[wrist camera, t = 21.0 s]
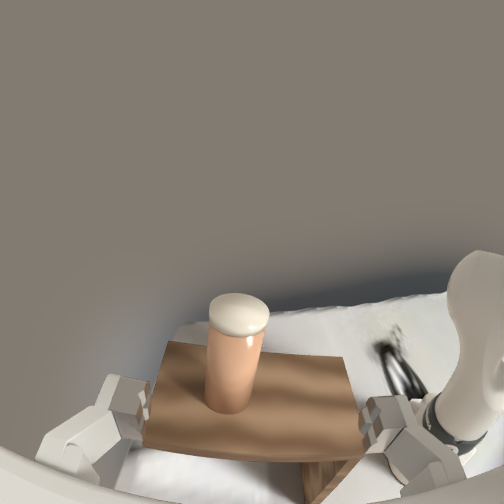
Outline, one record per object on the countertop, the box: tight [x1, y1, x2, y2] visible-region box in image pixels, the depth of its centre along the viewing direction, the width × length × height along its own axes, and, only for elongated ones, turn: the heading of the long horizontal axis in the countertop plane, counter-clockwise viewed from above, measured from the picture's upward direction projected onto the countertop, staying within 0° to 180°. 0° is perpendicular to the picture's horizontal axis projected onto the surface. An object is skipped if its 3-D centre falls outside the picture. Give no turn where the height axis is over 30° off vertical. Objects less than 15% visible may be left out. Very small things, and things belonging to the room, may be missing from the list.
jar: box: [204, 293, 269, 414], centre depth 30 cm, size 5×5×12 cm
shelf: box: [142, 341, 365, 504], centre depth 38 cm, size 15×23×20 cm, turn 89°
